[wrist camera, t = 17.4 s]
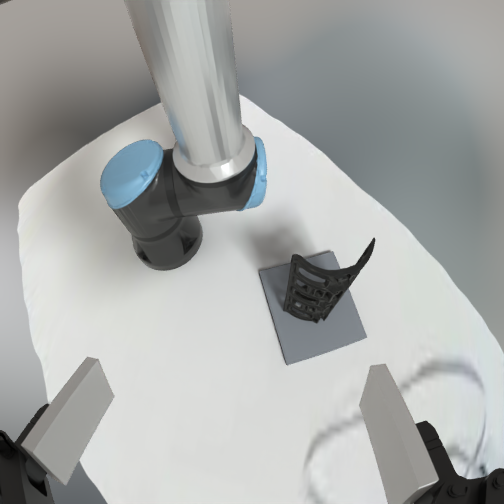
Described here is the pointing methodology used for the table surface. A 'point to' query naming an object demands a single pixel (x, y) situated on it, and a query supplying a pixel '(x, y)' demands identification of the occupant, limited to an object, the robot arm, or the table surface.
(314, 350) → the mat
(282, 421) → the table surface
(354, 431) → the table surface
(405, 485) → the robot arm
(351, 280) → the holder
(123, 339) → the table surface
